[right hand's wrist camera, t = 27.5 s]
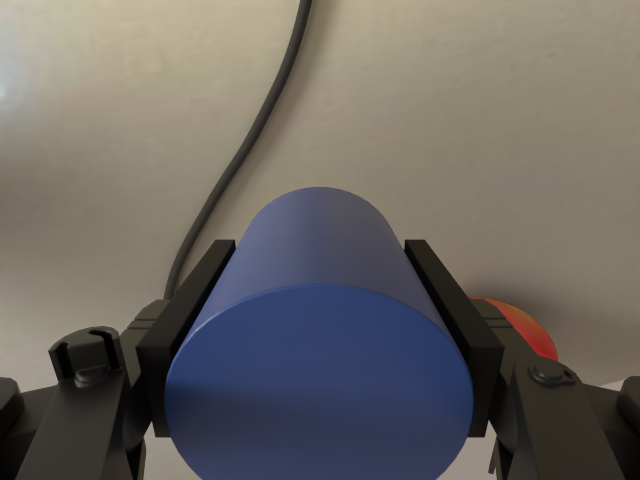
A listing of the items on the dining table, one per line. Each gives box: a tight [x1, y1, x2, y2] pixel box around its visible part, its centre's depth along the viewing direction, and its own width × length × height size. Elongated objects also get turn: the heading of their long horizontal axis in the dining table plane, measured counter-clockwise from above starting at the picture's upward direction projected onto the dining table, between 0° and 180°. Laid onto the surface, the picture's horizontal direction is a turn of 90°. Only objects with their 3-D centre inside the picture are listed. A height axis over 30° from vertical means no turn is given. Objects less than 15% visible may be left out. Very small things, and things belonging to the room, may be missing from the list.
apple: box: [469, 297, 558, 362], centre depth 33 cm, size 10×10×10 cm
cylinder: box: [164, 187, 474, 480], centre depth 11 cm, size 7×7×8 cm
